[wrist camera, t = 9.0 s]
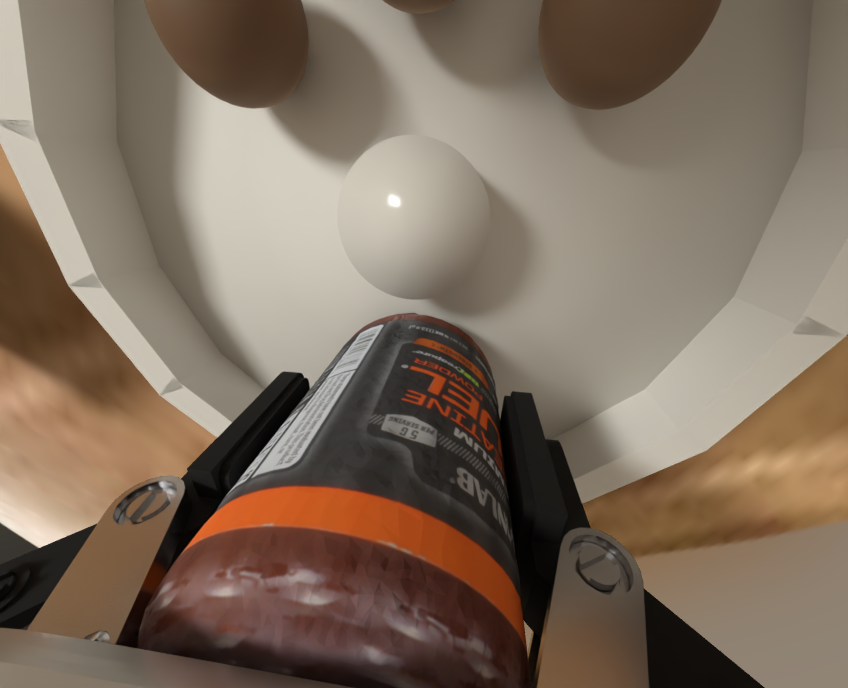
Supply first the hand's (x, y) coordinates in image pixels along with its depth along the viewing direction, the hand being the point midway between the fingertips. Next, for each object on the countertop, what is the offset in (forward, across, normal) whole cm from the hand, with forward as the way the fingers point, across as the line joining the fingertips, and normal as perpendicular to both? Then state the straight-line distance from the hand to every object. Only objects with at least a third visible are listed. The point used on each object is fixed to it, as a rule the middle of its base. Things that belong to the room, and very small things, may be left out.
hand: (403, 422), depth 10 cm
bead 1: (+3, +4, -10) cm, 11 cm away
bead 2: (+3, -4, -10) cm, 11 cm away
